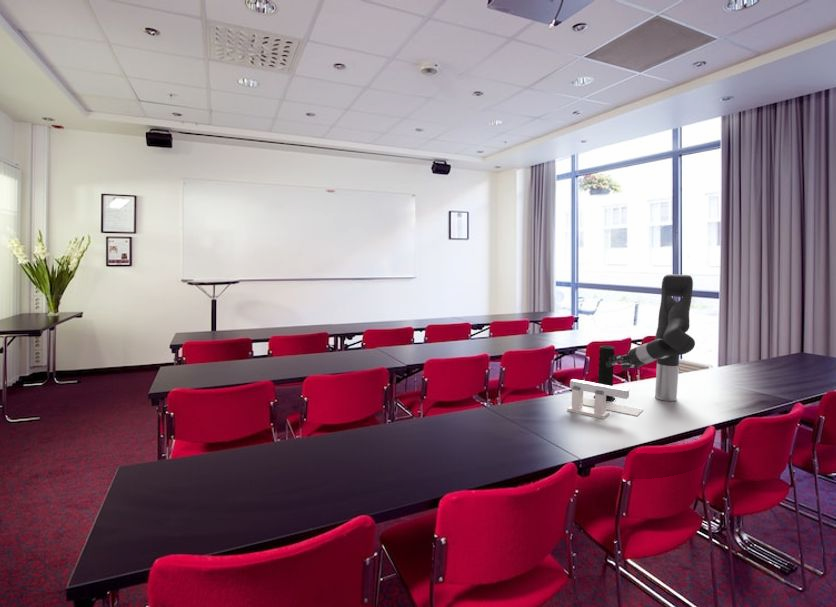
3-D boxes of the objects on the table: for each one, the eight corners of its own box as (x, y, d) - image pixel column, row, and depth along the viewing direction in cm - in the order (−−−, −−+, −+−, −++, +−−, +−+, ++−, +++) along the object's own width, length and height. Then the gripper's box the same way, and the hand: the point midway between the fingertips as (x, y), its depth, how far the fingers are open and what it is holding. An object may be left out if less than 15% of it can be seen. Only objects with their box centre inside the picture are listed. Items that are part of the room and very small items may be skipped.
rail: (569, 388, 203) (570, 380, 203) (572, 386, 206) (573, 379, 206) (626, 399, 188) (626, 390, 188) (628, 397, 191) (629, 389, 191)
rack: (573, 406, 208) (574, 383, 207) (609, 414, 198) (610, 389, 197) (567, 410, 203) (568, 386, 202) (604, 419, 193) (605, 393, 192)
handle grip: (618, 401, 216) (611, 395, 226) (621, 347, 213) (614, 343, 223) (597, 401, 217) (591, 394, 227) (599, 346, 214) (593, 342, 224)
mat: (581, 398, 222) (581, 397, 222) (643, 410, 204) (643, 409, 204) (573, 403, 214) (573, 402, 214) (637, 416, 196) (637, 415, 196)
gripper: (655, 348, 185) (625, 360, 198) (628, 343, 180) (599, 355, 194) (659, 365, 182) (629, 376, 195) (632, 360, 177) (602, 372, 191)
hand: (614, 366), depth 195 cm, fingers open, 8 cm apart
